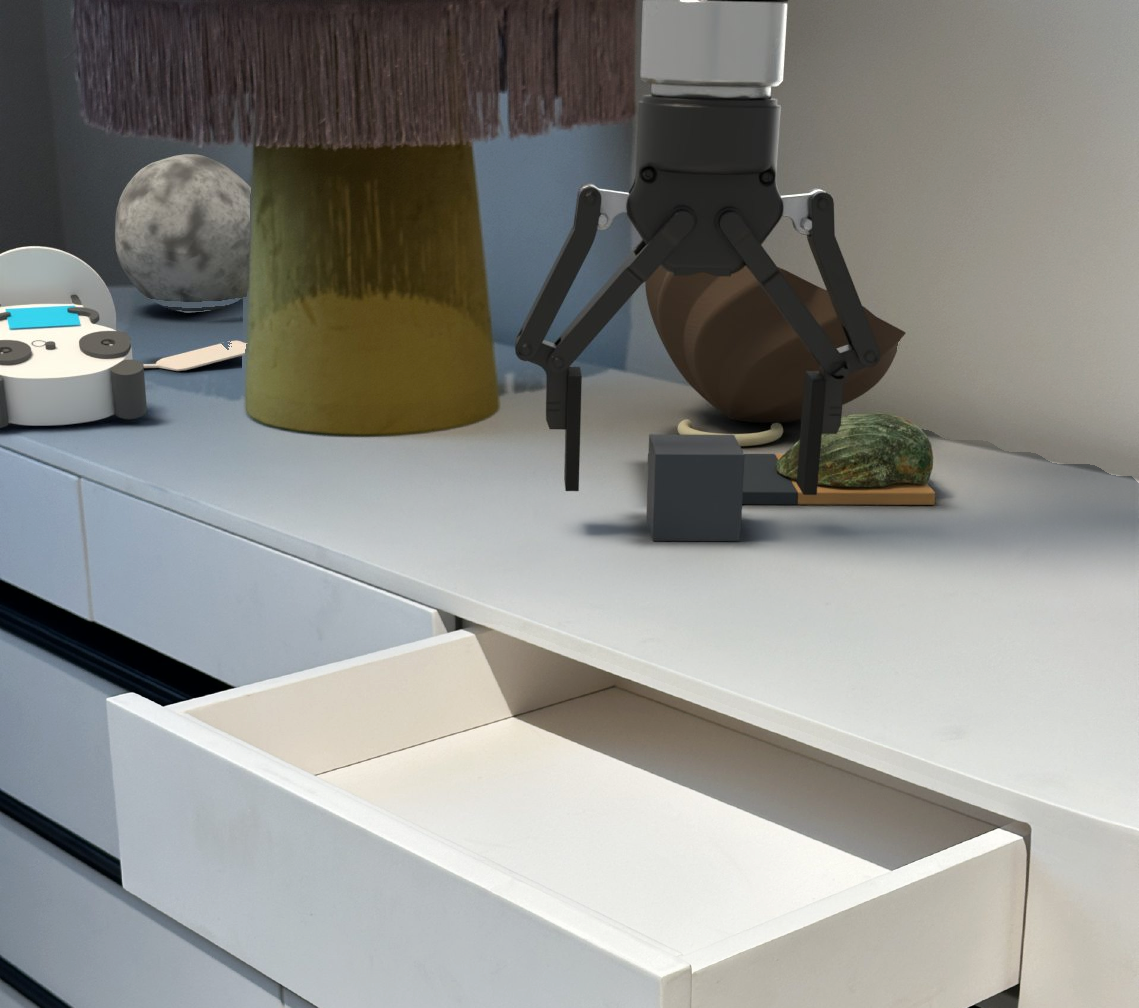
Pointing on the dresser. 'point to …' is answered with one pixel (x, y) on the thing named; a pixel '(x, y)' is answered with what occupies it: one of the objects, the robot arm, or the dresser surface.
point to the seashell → (869, 453)
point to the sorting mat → (821, 488)
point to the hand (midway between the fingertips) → (689, 487)
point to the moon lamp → (185, 231)
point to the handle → (742, 439)
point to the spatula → (200, 357)
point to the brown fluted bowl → (751, 342)
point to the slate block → (694, 487)
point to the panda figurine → (62, 344)
